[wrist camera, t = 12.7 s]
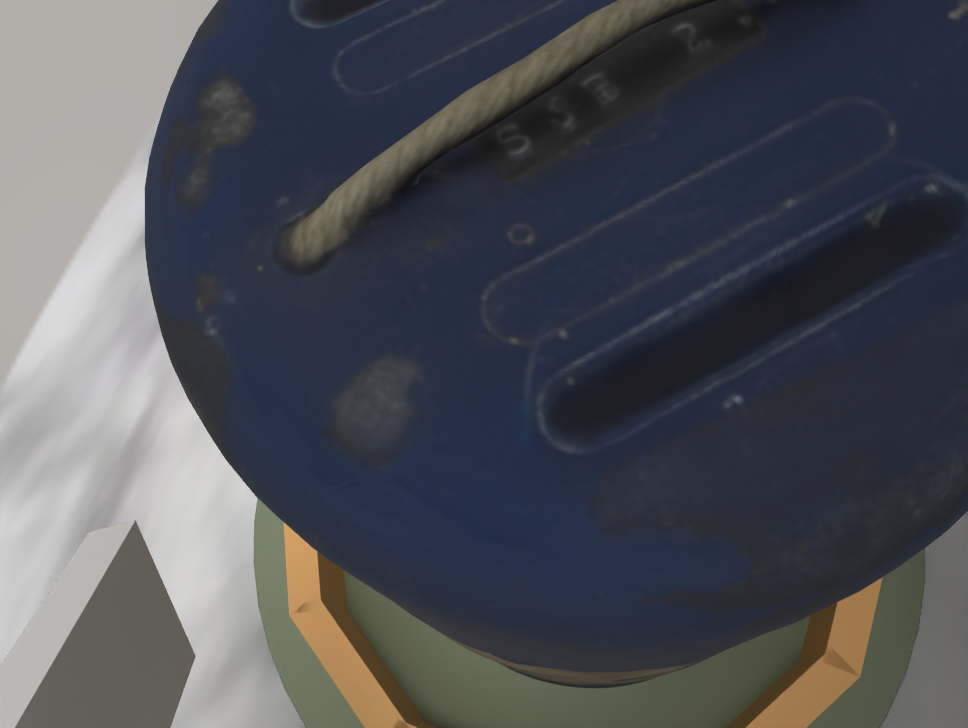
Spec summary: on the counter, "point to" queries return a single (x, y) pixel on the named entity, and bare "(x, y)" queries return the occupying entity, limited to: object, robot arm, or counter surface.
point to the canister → (578, 304)
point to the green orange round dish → (554, 708)
